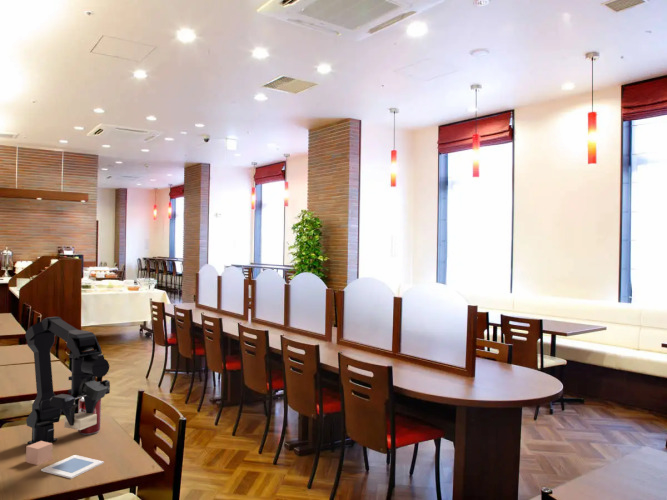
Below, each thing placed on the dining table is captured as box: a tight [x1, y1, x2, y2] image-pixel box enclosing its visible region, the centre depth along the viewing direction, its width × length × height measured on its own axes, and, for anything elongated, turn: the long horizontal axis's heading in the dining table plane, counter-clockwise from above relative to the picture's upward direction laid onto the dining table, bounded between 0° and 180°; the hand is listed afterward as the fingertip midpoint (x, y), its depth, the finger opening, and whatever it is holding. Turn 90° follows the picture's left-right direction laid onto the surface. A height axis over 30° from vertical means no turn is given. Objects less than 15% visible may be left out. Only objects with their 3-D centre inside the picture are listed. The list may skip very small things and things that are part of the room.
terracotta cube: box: [25, 441, 53, 466], centre depth 159 cm, size 5×5×5 cm
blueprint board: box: [40, 454, 105, 479], centre depth 155 cm, size 12×12×1 cm
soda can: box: [77, 397, 102, 436], centre depth 184 cm, size 7×7×12 cm
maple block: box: [63, 411, 97, 431], centre depth 161 cm, size 6×6×3 cm
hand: (80, 422), depth 161 cm, fingers closed on maple block, 6 cm apart
